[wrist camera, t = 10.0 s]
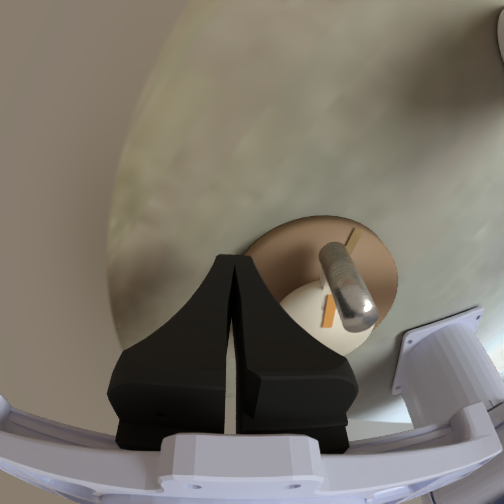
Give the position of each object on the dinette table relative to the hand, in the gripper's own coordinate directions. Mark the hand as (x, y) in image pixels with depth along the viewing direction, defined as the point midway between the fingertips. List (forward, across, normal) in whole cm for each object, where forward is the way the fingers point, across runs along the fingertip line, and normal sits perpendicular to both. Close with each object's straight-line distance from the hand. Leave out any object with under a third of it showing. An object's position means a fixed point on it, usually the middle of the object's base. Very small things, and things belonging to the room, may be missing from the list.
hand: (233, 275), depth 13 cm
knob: (+2, -5, +3) cm, 6 cm away
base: (+4, -5, +4) cm, 8 cm away
